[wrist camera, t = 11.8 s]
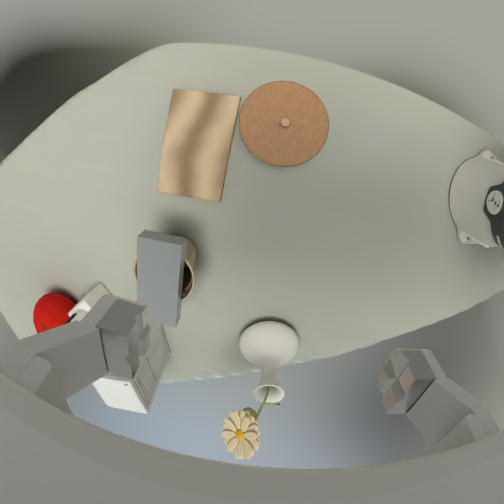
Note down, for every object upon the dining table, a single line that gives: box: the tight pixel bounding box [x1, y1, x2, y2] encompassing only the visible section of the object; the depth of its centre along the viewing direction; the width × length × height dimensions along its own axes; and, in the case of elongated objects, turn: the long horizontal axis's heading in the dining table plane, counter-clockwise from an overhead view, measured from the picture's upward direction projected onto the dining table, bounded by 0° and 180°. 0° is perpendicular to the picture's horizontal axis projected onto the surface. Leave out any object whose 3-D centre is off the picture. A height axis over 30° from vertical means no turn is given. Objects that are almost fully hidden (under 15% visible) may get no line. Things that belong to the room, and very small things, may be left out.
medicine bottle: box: [65, 283, 111, 324], centre depth 46 cm, size 7×7×12 cm
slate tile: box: [137, 230, 187, 327], centre depth 37 cm, size 6×13×2 cm, turn 169°
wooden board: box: [157, 89, 241, 202], centre depth 39 cm, size 10×16×1 cm, turn 169°
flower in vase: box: [221, 321, 299, 459], centre depth 41 cm, size 13×11×25 cm
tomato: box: [33, 293, 75, 333], centre depth 49 cm, size 14×13×10 cm
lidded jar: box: [239, 81, 329, 167], centre depth 33 cm, size 11×11×9 cm
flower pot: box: [133, 236, 196, 302], centre depth 42 cm, size 9×9×9 cm
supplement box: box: [93, 321, 170, 414], centre depth 47 cm, size 10×9×17 cm
